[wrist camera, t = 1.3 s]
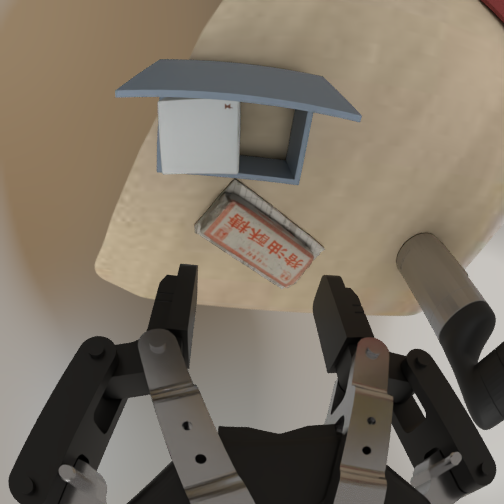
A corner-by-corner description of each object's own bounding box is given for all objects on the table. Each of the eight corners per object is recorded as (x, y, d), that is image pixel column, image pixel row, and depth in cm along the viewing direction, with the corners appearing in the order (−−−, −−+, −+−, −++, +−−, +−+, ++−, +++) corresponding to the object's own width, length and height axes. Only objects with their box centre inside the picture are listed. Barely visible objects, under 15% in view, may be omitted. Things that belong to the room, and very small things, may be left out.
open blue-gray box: (305, 78, 34) (318, 82, 28) (289, 165, 40) (298, 185, 35) (175, 64, 32) (162, 65, 26) (169, 154, 39) (156, 172, 33)
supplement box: (180, 86, 34) (155, 98, 23) (241, 85, 34) (242, 96, 24) (181, 141, 38) (160, 176, 27) (239, 141, 38) (239, 175, 28)
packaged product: (188, 243, 42) (234, 189, 37) (192, 225, 46) (234, 175, 41) (284, 303, 49) (331, 263, 45) (281, 283, 53) (324, 245, 49)
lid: (321, 81, 28) (322, 76, 27) (359, 123, 19) (361, 115, 19) (159, 64, 26) (159, 59, 25) (115, 98, 17) (115, 90, 17)
